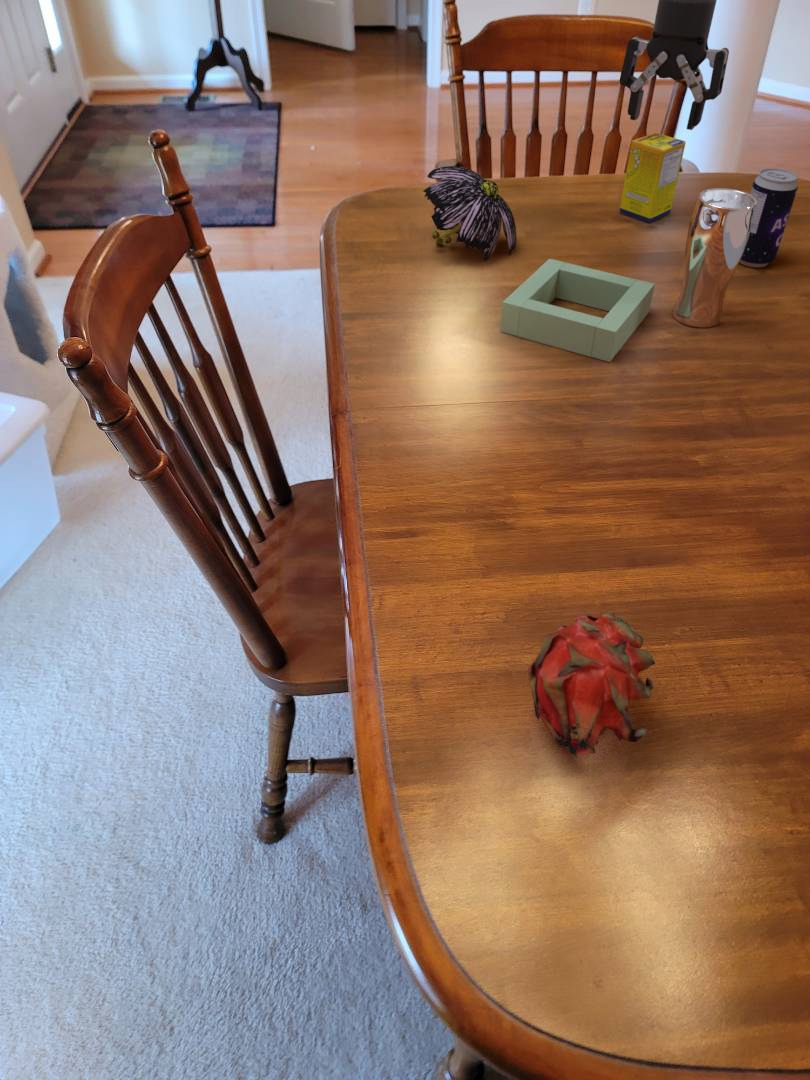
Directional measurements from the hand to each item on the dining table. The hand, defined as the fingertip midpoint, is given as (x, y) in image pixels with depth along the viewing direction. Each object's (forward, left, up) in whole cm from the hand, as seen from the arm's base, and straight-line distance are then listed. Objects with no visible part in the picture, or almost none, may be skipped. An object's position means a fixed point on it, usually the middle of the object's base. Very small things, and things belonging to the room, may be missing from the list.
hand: (662, 123), depth 123 cm
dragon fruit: (-27, +95, -13) cm, 100 cm away
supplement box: (0, 0, -13) cm, 13 cm away
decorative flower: (+18, +26, -13) cm, 34 cm away
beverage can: (-19, +9, -13) cm, 25 cm away
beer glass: (-17, +30, -13) cm, 37 cm away
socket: (-4, +39, -13) cm, 41 cm away
